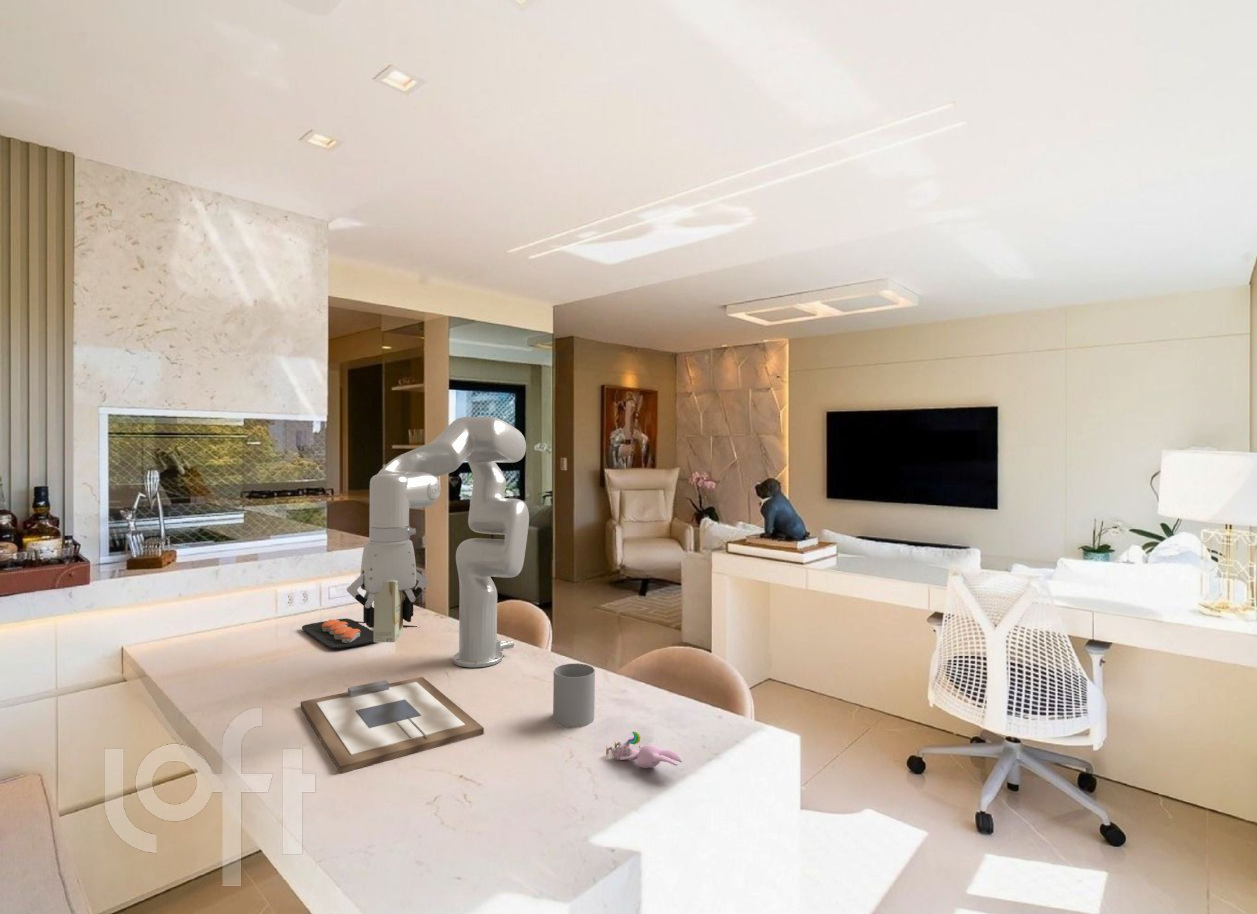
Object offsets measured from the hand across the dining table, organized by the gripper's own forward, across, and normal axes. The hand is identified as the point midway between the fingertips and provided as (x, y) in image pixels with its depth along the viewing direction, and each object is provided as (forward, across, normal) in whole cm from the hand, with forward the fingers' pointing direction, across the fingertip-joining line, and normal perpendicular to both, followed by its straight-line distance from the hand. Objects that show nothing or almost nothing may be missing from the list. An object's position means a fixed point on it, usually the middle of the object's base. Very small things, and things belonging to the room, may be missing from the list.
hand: (388, 622), depth 131 cm
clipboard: (+20, 0, 0) cm, 20 cm away
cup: (+20, -31, +21) cm, 43 cm away
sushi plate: (+20, -14, -67) cm, 71 cm away
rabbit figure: (+20, -31, +45) cm, 58 cm away
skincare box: (+3, 0, 0) cm, 3 cm away
